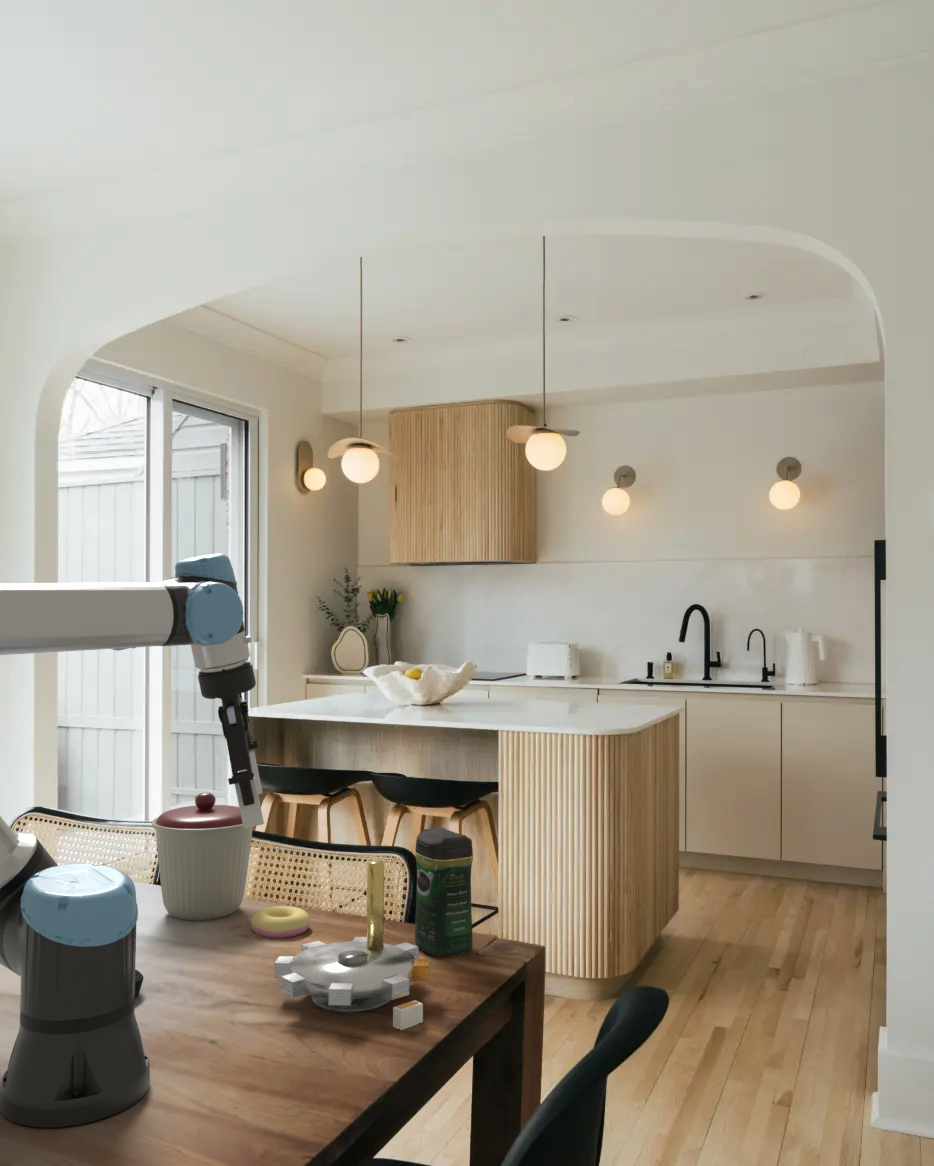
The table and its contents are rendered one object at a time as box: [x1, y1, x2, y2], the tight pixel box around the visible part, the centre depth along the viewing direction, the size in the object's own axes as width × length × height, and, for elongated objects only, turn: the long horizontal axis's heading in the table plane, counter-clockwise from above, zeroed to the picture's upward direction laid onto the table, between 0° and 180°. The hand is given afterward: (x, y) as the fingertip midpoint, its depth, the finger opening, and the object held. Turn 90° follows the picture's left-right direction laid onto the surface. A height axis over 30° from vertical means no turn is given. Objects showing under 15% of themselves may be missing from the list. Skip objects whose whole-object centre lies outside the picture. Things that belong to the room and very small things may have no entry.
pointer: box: [392, 999, 424, 1031], centre depth 126 cm, size 4×2×3 cm, turn 133°
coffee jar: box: [414, 827, 474, 957], centre depth 156 cm, size 10×8×19 cm
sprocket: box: [273, 859, 431, 1006], centre depth 135 cm, size 21×21×14 cm
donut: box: [250, 905, 311, 939], centre depth 165 cm, size 10×5×9 cm
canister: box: [151, 792, 253, 921], centre depth 175 cm, size 18×18×21 cm
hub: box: [311, 995, 393, 1015], centre depth 135 cm, size 11×11×3 cm
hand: (253, 809), depth 140 cm, fingers open, 13 cm apart
